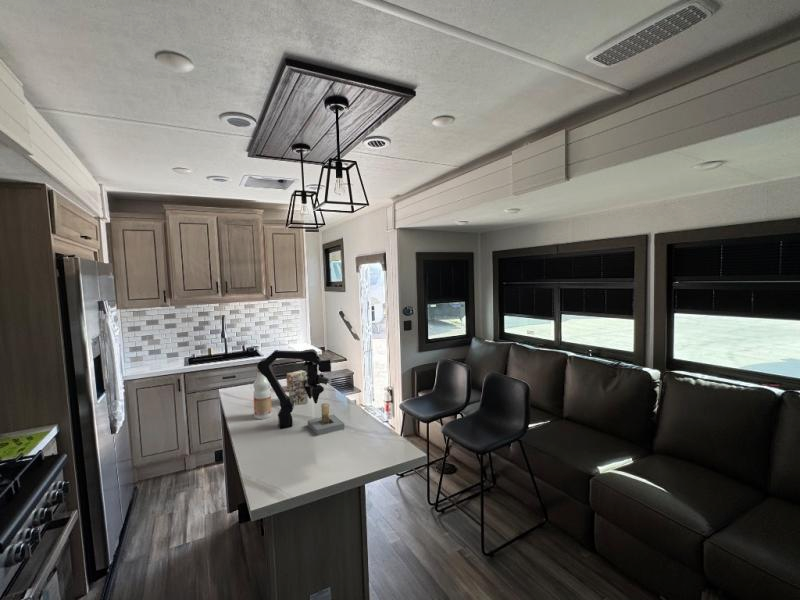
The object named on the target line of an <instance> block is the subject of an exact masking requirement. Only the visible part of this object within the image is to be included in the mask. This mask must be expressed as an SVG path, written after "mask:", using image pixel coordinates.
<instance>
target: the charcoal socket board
mask: <svg viewBox="0 0 800 600" xmlns="http://www.w3.org/2000/svg"><path fill="white" fill-rule="evenodd" d="M329 420H330V422H329V423H330V424H326V425H323V423H322V416H321V417H317V418H312V419H308V420H307V426H308V428H309V427H310V428H311V429H312V430H313V431H312V430H311V429H310V428H309V429H310V430H311V431H312V432H313V433H314V434H315V436H317V435H318V436H321V434H322V435H326V434H330V433H334V432H338V431H341V430H342V431H343V430H344V429H345V423H344V422H343V421H342V420H341V419H340V418H338V416H336V415H335V414H329ZM333 431H334V432H333ZM329 432H330V433H329ZM325 433H326V434H325Z"/></svg>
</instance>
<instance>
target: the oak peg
mask: <svg viewBox="0 0 800 600" xmlns="http://www.w3.org/2000/svg"><path fill="white" fill-rule="evenodd" d="M320 406H321V407H320V408H321V417H322V423H323V425H326V424H329V422H330V420H329V415H330V404H329V403H322V404H321V405H320Z"/></svg>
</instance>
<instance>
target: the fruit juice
mask: <svg viewBox="0 0 800 600" xmlns="http://www.w3.org/2000/svg"><path fill="white" fill-rule="evenodd" d="M256 373H257V374H256V378H255V380H254V382H253V389H254V390H253V391H254V392H253V412H254V414H253V415H254V418H255V419H256V418H257V419H256V420H265V419H264V418H266V419H268V417H269V418H270V417H271V416H272V415H273V414H272V411H273V410H272V392H271V389H270V388H271V385H270V383H269V381H268V380H267V378H266V377H265V376H264V375H262V374H261V372H260V371H259V370H258V368H257V369H256Z"/></svg>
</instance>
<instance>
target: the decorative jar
mask: <svg viewBox="0 0 800 600" xmlns="http://www.w3.org/2000/svg"><path fill="white" fill-rule="evenodd" d="M305 379H307V377H306V376H302V374H295V375H294V376H293V377H290V378H289V391H288V397H289V396H292V399H293V400H294V404H300V405H305V404H304V403H308V404H309V397H308V395H307V393H306V391H305V389H304V387H303V385H302V381H303V380H305Z"/></svg>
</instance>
